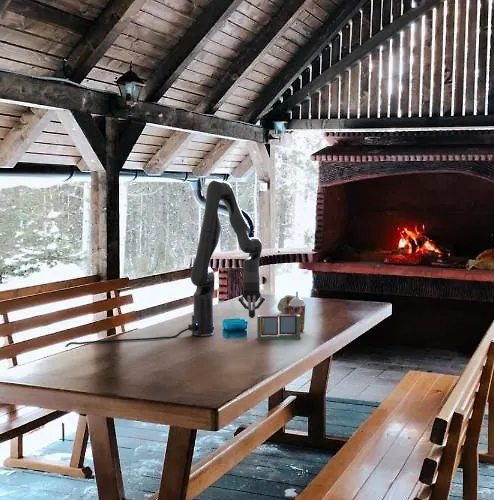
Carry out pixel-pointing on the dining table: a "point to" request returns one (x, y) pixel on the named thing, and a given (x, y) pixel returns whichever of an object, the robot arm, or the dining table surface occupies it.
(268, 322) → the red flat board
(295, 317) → the green double frame
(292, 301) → the smoothie
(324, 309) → the dining table surface
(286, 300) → the stone
